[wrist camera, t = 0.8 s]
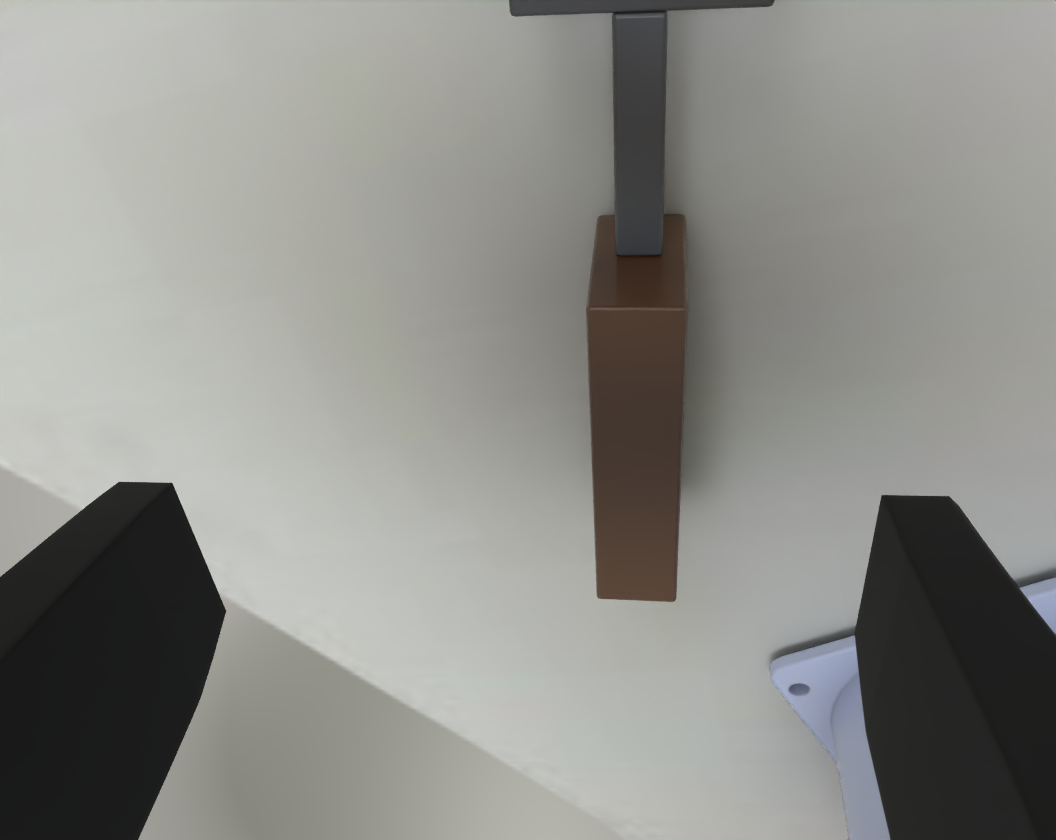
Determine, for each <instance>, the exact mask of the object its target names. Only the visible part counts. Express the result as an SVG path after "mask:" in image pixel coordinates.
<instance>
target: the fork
mask: <svg viewBox="0 0 1056 840" xmlns="http://www.w3.org/2000/svg"><path fill="white" fill-rule="evenodd" d="M773 3H774V0H509V6H510V13H511V15H513V16H539V15H565V14H591V13H613V16H612V40H613V109H614V178H615V216H599V217H598V219H597V226H596V234H595V242H594V250H593V258H592V266H591V275H590V283H589V291H588V299H587V307H586V317H587V343H588V370H589V397H590V424H591V451H592V477H593V504H594V531H595V558H596V585H597V597H598V598H599V599H617V600H641V601H665V602H674V601H675V600H676V592H677V567H678V542H679V516H680V491H681V466H682V440H683V415H684V390H685V364H686V339H687V314H688V303H687V265H686V227H685V217H684V216H683V215H664V164H665V114H666V63H667V11H670V10H697V9H723V8H749V7H769V6H772V5H773Z"/></svg>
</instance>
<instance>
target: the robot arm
mask: <svg viewBox="0 0 1056 840" xmlns="http://www.w3.org/2000/svg"><path fill="white" fill-rule="evenodd" d="M225 613H226V610H225V607H224V605H223V603H222V600H221V598H220V595H219V593H218V591H217V588H216V586H215V584H214V581H213V579H212V576H211V574H210V572H209V569H208V567H207V564H206V562H205V560H204V557H203V555H202V553H201V550H200V548H199V545H198V543H197V541H196V538H195V536H194V534H193V531H192V529H191V526H190V524H189V522H188V519H187V517H186V515H185V512H184V510H183V507H182V505H181V503H180V500H179V498H178V495H177V493H176V491H175V488H174V486H173V484H172V483H148V482H118V483H117V484H116V485H114V486H113V487H112V488H110V489H109V490H108V491H106V492H105V493H103V494H102V495H101V496H99V497H98V498H97V499H96V500H94V501H93V502H92V503H90V504H89V505H88V506H87V507H85V508H84V509H83V510H82V511H80V512H79V513H78V514H77V515H75V516H74V517H73V518H72V519H70V520H69V521H68V522H67V523H66V524H64V525H63V526H62V527H61V528H59V529H58V530H57V531H56V532H55V533H53V534H52V535H51V536H50V537H48V538H47V539H46V540H45V541H44V542H42V543H41V544H40V545H39V546H37V547H36V548H35V549H34V550H33V551H31V552H30V553H29V554H28V555H27V556H25V557H24V558H23V559H22V560H20V561H19V562H18V563H17V564H16V565H14V566H13V567H12V568H11V569H9V570H8V571H7V572H6V573H5V574H3V575H2V576H1V577H0V840H138V839H139V836H140V834H141V832H142V830H143V827H144V825H145V823H146V821H147V819H148V816H149V814H150V812H151V810H152V807H153V805H154V803H155V801H156V799H157V796H158V794H159V792H160V790H161V787H162V785H163V783H164V781H165V779H166V776H167V774H168V772H169V770H170V767H171V765H172V763H173V761H174V758H175V756H176V754H177V751H178V749H179V747H180V745H181V742H182V740H183V738H184V735H185V733H186V731H187V729H188V726H189V724H190V722H191V719H192V717H193V715H194V712H195V710H196V708H197V705H198V703H199V700H200V698H201V695H202V692H203V688H204V685H205V682H206V679H207V676H208V673H209V669H210V666H211V663H212V660H213V656H214V653H215V649H216V645H217V642H218V638H219V635H220V631H221V627H222V624H223V620H224V617H225ZM770 677H771V680H772V683H773V684H774V685H775V686H776V688H777V689H778V690H779V691H780V693H781V694H782V695H783V697H784V698H785V699H786V700H787V702H788V703H789V704H790V705H791V707H792V708H793V709H794V710H795V712H796V713H797V714H798V716H799V717H800V718H801V719H802V721H803V722H804V723H805V724H806V726H807V727H808V728H809V730H810V731H811V732H812V733H813V735H814V736H815V737H816V738H817V740H818V741H819V742H820V744H821V745H822V746H823V747H824V749H825V750H826V751H827V752H828V754H829V755H830V756H831V757H832V759H833V760H834V761H835V763H836V764H837V765H838V770H839V777H840V784H841V790H842V797H843V804H844V811H845V817H846V824H847V831H848V838H849V840H1056V577H1054V578H1051V579H1047V580H1044V581H1041V582H1037V583H1034V584H1030V585H1027V586H1023V587H1020V588H1019V587H1018V586H1017V584H1016V583H1015V582H1014V581H1013V579H1012V578H1011V577H1010V575H1009V574H1008V573H1007V571H1006V570H1005V569H1004V567H1003V566H1002V565H1001V563H1000V562H999V561H998V559H997V558H996V556H995V555H994V554H993V552H992V551H991V550H990V548H989V547H988V546H987V544H986V543H985V541H984V540H983V539H982V537H981V536H980V535H979V533H978V532H977V530H976V529H975V528H974V526H973V525H972V524H971V522H970V521H969V519H968V518H967V517H966V515H965V514H964V512H963V511H962V510H961V508H960V507H959V506H958V505H957V504H956V503H955V502H954V501H953V500H952V499H951V498H950V497H949V496H897V495H882V496H881V501H880V506H879V512H878V517H877V522H876V527H875V532H874V537H873V542H872V547H871V553H870V558H869V563H868V568H867V573H866V578H865V583H864V588H863V594H862V599H861V604H860V609H859V614H858V619H857V624H856V630H855V635H854V636H850V637H847V638H843V639H840V640H836V641H833V642H830V643H826V644H823V645H819V646H816V647H812V648H809V649H805V650H802V651H798V652H795V653H791V654H788V655H785V656H781V657H779V658H777V659H775V660H774V661H773V662H772V663H771V665H770Z"/></svg>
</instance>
